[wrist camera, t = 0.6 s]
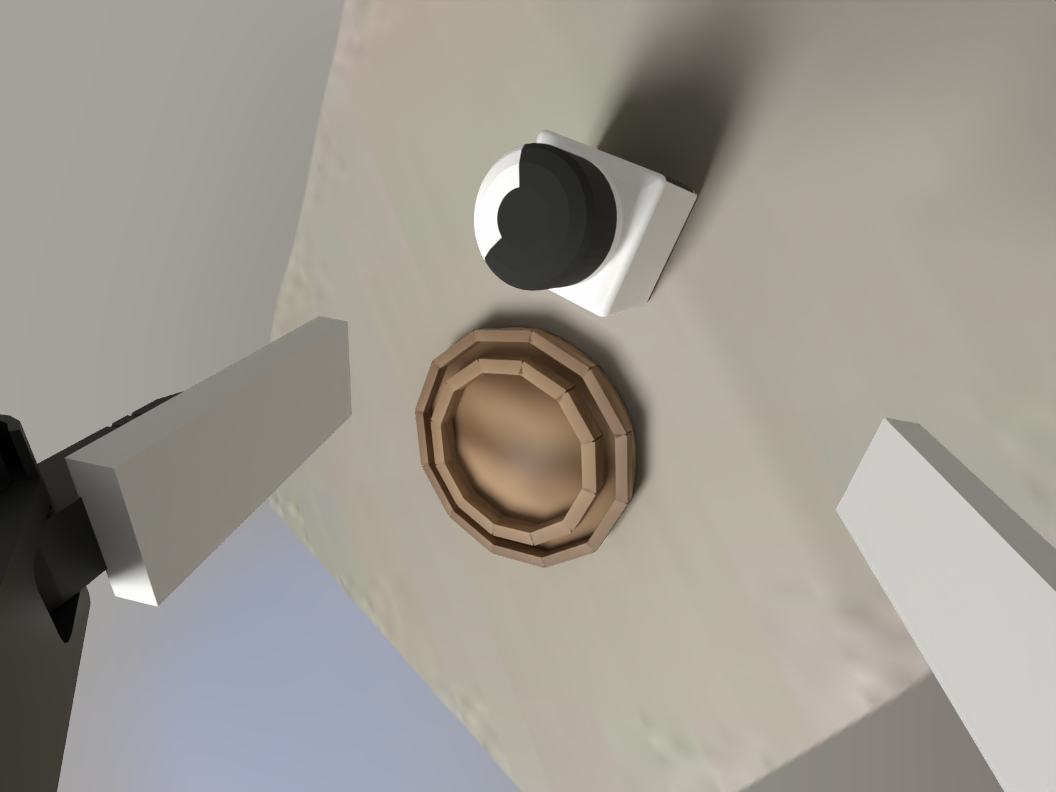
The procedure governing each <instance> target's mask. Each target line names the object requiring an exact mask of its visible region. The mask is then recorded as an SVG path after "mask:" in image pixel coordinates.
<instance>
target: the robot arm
mask: <svg viewBox="0 0 1056 792" xmlns="http://www.w3.org/2000/svg"><path fill="white" fill-rule="evenodd" d="M351 415H352V409H351V388H350V366H349V344H348V322H347V321H343V320H337V319H331V318H326V317H320V316H319V317H317V318H315V319H314V320H312V321H310V322H308V323H306V324H305V325H303V326H301V327H299V328H297V329H296V330H294V331H292V332H290V333H288V334H286V335H285V336H283V337H281V338H279V339H277V340H276V341H274V342H272V343H270V344H268V345H267V346H265V347H263V348H261V349H260V350H258V351H256V352H254V353H252V354H251V355H249V356H247V357H245V358H243V359H241V360H240V361H238V362H236V363H234V364H233V365H231V366H229V367H227V368H225V369H223V370H222V371H220V372H218V373H216V374H215V375H213V376H211V377H209V378H207V379H205V380H204V381H202V382H200V383H198V384H197V385H195V386H193V387H191V388H189V389H187V390H186V391H183V392H179V393H176V394H174V395H170V396H167V397H163V398H160V399H157V400H155V401H153V402H151V403H149V404H148V405H146V406H144V407H142V408H140V409H138V410H136V411H135V412H133V413H132V416H128V415H127V416H125V417H123V418H121V419H120V420H118V421H116V422H114V423H113V424H112V426H111V427H105V428H103V429H101V430H99V431H97V432H96V433H94V434H92V435H90V436H88V437H86V438H84V439H83V440H81V441H79V442H78V443H75V444H74V445H71V446H70V447H68V448H66V449H64V450H63V451H60V452H59V453H57V454H55V455H53V456H51V457H50V458H47V459H46V460H44V461H42V462H40V463H38V464H37V463H36V460H35V458H34V455H33V453H32V450H31V448H30V445H29V443H28V440H27V438H26V435H25V433H24V430H23V428H22V425H21V423H20V421H18V420H17V419H15V418H13V417H11V416H8V415H0V792H57V788H58V782H59V776H60V771H61V765H62V760H63V753H64V748H65V743H66V737H67V731H68V726H69V720H70V715H71V709H72V704H73V698H74V692H75V687H76V681H77V676H78V670H79V665H80V659H81V653H82V648H83V642H84V637H85V631H86V625H87V619H88V614H89V609H90V597H89V592H88V590H87V587H86V585H87V584H89V583H90V582H91V581H92V580H94V579H95V578H96V577H97V576H98V575H100V574H101V573H102V572H103V571H105V570H106V572H107V575H108V578H109V580H110V583H111V585H112V588H113V591H114V594H115V596H117V597H121V598H126V599H130V600H134V601H138V602H142V603H147V604H150V605H154V606H159V605H160V604H161V603H162V602H163V601H164V600H165V599H166V598H167V597H168V596H169V595H170V594H171V593H172V592H173V591H174V590H175V589H176V588H177V587H178V586H179V585H180V584H181V583H182V582H183V581H184V580H185V579H186V578H187V577H188V576H189V575H190V574H191V573H192V572H193V571H194V570H195V569H196V568H197V567H198V566H199V565H200V564H201V563H202V562H203V561H204V560H205V559H206V558H207V557H208V556H209V555H210V554H211V553H212V552H213V551H214V550H215V549H216V548H217V547H218V546H219V545H220V544H221V543H222V542H223V541H224V540H225V539H226V538H227V537H228V536H229V535H231V533H233V531H234V530H236V529H237V527H239V526H240V524H242V523H243V522H244V521H245V520H246V519H247V518H248V516H250V515H251V514H252V513H253V512H254V511H255V509H257V508H258V507H259V506H260V505H261V504H262V503H263V502H264V501H265V500H266V499H267V498H268V497H269V496H270V495H271V494H272V493H273V492H274V491H275V490H276V489H277V488H278V487H279V486H280V485H281V484H282V483H283V482H284V481H285V480H286V479H287V478H288V477H289V476H290V475H291V474H292V473H293V472H294V471H295V470H296V469H297V468H298V467H299V466H300V465H301V464H302V463H303V462H304V461H305V460H306V459H307V458H308V457H309V456H310V455H311V454H312V453H313V452H314V451H316V450H317V449H318V448H319V447H320V446H321V445H322V444H323V443H324V442H325V441H326V440H327V439H328V438H329V437H330V436H331V435H332V434H333V433H334V432H335V431H336V430H337V429H338V428H339V427H340V426H341V425H342V424H343V423H344V422H345V421H346V420H347V419H348V418H349V417H350V416H351ZM836 511H837V513H838V514H839V516H840V518H841V519H842V521H843V523H844V524H845V526H846V528H847V529H848V531H849V533H850V534H851V536H852V538H853V539H854V541H855V543H856V544H857V546H858V548H859V549H860V551H861V553H862V554H863V556H864V558H865V559H866V561H867V563H868V564H869V566H870V568H871V569H872V571H873V573H874V574H875V576H876V578H877V579H878V581H879V583H880V584H881V586H882V588H883V589H884V591H885V593H886V594H887V596H888V598H889V599H890V601H891V603H892V604H893V606H894V608H895V610H896V611H897V613H898V615H899V616H900V618H901V620H902V621H903V623H904V625H905V626H906V628H907V630H908V631H909V633H910V635H911V636H912V638H913V640H914V641H915V643H916V645H917V646H918V648H919V650H920V651H921V653H922V655H923V656H924V658H925V660H926V661H927V663H928V665H929V666H930V668H931V670H932V671H933V673H934V675H935V676H936V678H937V680H938V681H939V683H940V685H941V686H942V688H943V690H944V691H945V693H946V695H947V696H948V698H949V700H950V701H951V703H952V705H953V706H954V708H955V710H956V711H957V713H958V715H959V716H960V718H961V720H962V721H963V723H964V725H965V727H966V728H967V730H968V732H969V733H970V735H971V736H972V738H973V740H974V742H975V743H976V745H977V747H978V748H979V750H980V751H981V753H982V755H983V756H984V758H985V760H986V762H987V763H988V765H989V767H990V768H991V770H992V772H993V773H994V775H995V777H996V778H997V780H998V782H999V783H1000V785H1001V787H1002V788H1003V790H1004V792H1056V549H1055V548H1054V547H1053V546H1052V545H1050V544H1049V543H1048V542H1047V541H1046V540H1045V539H1044V538H1043V537H1042V536H1041V535H1040V534H1038V533H1037V532H1036V531H1035V530H1034V529H1033V528H1032V527H1031V526H1030V525H1029V524H1028V523H1026V522H1025V521H1024V520H1023V519H1022V518H1021V517H1020V516H1019V515H1018V514H1017V513H1016V512H1015V511H1013V510H1012V509H1011V508H1010V507H1009V506H1008V505H1007V504H1006V503H1005V502H1004V501H1003V500H1001V499H1000V498H999V497H998V496H997V495H996V494H995V493H994V492H993V491H992V490H991V489H989V488H988V487H987V486H986V485H985V484H984V483H983V482H982V481H981V480H980V479H979V478H978V477H976V476H975V475H974V474H973V473H972V472H971V471H970V470H969V469H968V468H967V467H966V466H964V465H963V464H962V463H961V462H960V461H959V460H958V459H957V458H956V457H955V456H954V455H952V454H951V453H950V452H949V451H948V450H947V449H946V448H945V447H944V446H943V445H942V444H940V443H939V442H938V441H937V440H936V439H935V438H934V437H933V436H932V435H931V434H930V433H929V432H927V431H926V430H925V429H924V428H923V427H922V426H921V425H920V424H918V423H912V422H907V421H901V420H896V419H890V418H884V419H883V421H882V423H881V425H880V426H879V428H878V430H877V432H876V434H875V436H874V438H873V440H872V442H871V444H870V446H869V448H868V449H867V451H866V453H865V455H864V457H863V459H862V461H861V463H860V465H859V467H858V469H857V471H856V472H855V474H854V476H853V478H852V480H851V482H850V484H849V486H848V488H847V490H846V492H845V494H844V495H843V497H842V499H841V501H840V503H839V505H838V507H837V509H836Z"/></svg>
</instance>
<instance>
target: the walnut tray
mask: <svg viewBox="0 0 1056 792" xmlns="http://www.w3.org/2000/svg"><path fill="white" fill-rule="evenodd" d="M415 410H416V411H415V414H416V423H417V431H418V440H419V448H420V457H421V465H423V466H422V467H423V469H424V471H425V473H426V475H427V477H428V478H429V480H430V482H431V484H432V486H433V488H434V490H435V492H436V493H437V495H438V497H439V499H440V501H441V503H442V505H443V506H444V508H445V510H446V512H447V514H448V515H450V516H449V517H450V518H452V519H453V520H454V521H455V522H456V523H457V524H459V525H460V526H461V527H462V528H463V529H464V530H466V531H467V532H468V533H469V534H470V535H471V536H473V537H474V538H475V539H476V540H477V541H478V542H480V543H481V544H482V545H483V546H484V547H485V548H487V549H488V550H489V551H490V552H491V553H492V552H493V554H497V555H500V556H504V557H507V558H511V559H515V560H518V561H522V562H525V563H529V564H533V565H536V566H540V567H543V568H544V567H545V568H546V567H549V566H552V565H556V564H559V563H562V562H565V561H568V560H571V559H575V558H578V557H581V556H584V555H587V554H591V553H594V552H595V551H596V550H597V549H598V548H599V546H600V545H601V544H602V542H603V541H604V539H605V538H606V536H607V535H608V533H609V532H610V530H611V529H612V527H613V526H614V525H615V523H616V522H617V520H618V519H619V518H620V517H621V515H622V513H623V512H624V510H625V508H626V507H627V505H628V504H629V502H630V501H631V499H632V497H633V492H632V491H633V487H634V483H635V478H636V468H637V451H636V441H635V436H634V431H633V426H632V423H631V420H630V417H629V415H628V412H627V409H626V407H625V405H624V403H623V401H622V399H621V397H620V394H619V393H618V391H617V390H616V388H615V387H614V385H613V383H612V382H611V380H610V379H609V378H608V376H607V375H606V374H605V373H604V372H603V370H602V369H601V368H600V367H599V366H598V365H597V364H596V363H595V362H594V361H593V360H592V359H591V358H590V357H589V356H588V355H587V354H585V353H584V352H583V351H581V350H580V349H579V348H577V347H576V346H575V345H573V344H571V343H570V342H568V341H566V340H564V339H562V338H560V337H558V336H556V335H553V334H551V333H548V332H546V331H542V330H540V329H533V328H525V327H507V328H481V329H477V330H473V331H472V332H470V333H469V334H468V335H466V336H465V337H464V338H462V339H461V340H460V341H458V342H457V343H456V344H454V345H453V346H452V347H450V348H449V349H448V350H446V351H445V352H444V353H442V354H441V355H440V356H438V357H437V358H436V359H434V360H433V361H432V364H431V366H430V369H429V372H428V375H427V378H426V381H425V383H424V386H423V389H422V392H421V395H420V398H419V400H418V403H417V406H416V409H415Z"/></svg>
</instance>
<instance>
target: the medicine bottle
mask: <svg viewBox="0 0 1056 792" xmlns="http://www.w3.org/2000/svg"><path fill="white" fill-rule="evenodd" d="M696 198H697V193H696V191H694V190H693V189H691V188H689V187H687V186H685V185H683V184H681V183H679V182H677V181H675V180H672V179H670V178H668V177H666V176H664V175H662V174H660V173H657V172H654V171H652V170H649V169H647V168H644V167H642V166H639V165H636V164H634V163H631V162H629V161H626V160H623V159H621V158H618V157H616V156H613V155H611V154H608V153H605V152H603V151H600V150H598V149H595V148H593V147H590V146H587V145H585V144H582V143H580V142H577V141H575V140H572V139H569V138H567V137H564V136H562V135H559V134H556V133H554V132H551V131H549V130H543V131H541V132H540V133H539V135H538V138H537V141H536V143H531V144H525V145H522V146H519V147H516V148H514V149H512V150H510V151H508V152H507V153H506V154H504V155H503V156H502V157H500V158H499V159H498V160H497V161H496V162H495V163H494V165H493V166H492V167H491V168H490V170H489V171H488V173H487V174H486V176H485V178H484V180H483V182H482V184H481V186H480V189H479V192H478V195H477V199H476V204H475V213H474V227H475V235H476V239H477V243H478V246H479V249H480V252H481V254H482V256H483V258H484V260H485V262H486V263H487V265H488V266H489V268H490V269H491V270H492V271H493V272H494V274H495V275H496V276H498V277H499V278H500V279H501V280H502V281H504V282H505V283H507V284H509V285H511V286H513V287H515V288H519V289H523V290H531V291H533V290H544V289H549V290H550V291H552V292H554V293H556V294H558V295H560V296H562V297H564V298H566V299H568V300H570V301H572V302H574V303H575V304H577V305H579V306H581V307H583V308H585V309H587V310H589V311H591V312H593V313H595V314H597V315H598V316H601V317H605V316H608V315H612V314H616V313H619V312H623V311H627V310H630V309H634V308H637V307H641V306H644V305H645V304H646V303H647V301H648V299H649V297H650V295H651V293H652V291H653V289H654V286H655V284H656V282H657V280H658V278H659V276H660V274H661V272H662V270H663V268H664V265H665V263H666V261H667V259H668V257H669V255H670V253H671V251H672V249H673V247H674V244H675V242H676V240H677V238H678V236H679V234H680V232H681V230H682V228H683V226H684V223H685V221H686V219H687V217H688V215H689V213H690V211H691V209H692V207H693V205H694V203H695V200H696Z"/></svg>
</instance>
